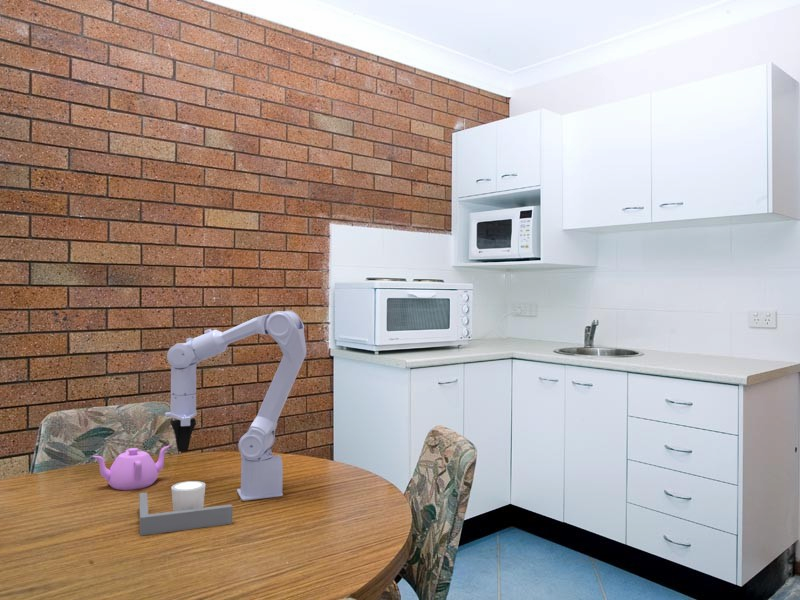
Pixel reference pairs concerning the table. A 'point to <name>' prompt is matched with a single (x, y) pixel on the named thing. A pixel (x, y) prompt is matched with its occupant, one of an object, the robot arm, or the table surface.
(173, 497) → the shot glass
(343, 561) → the table surface
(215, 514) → the l-shaped bracket
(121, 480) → the teapot
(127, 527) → the table surface
